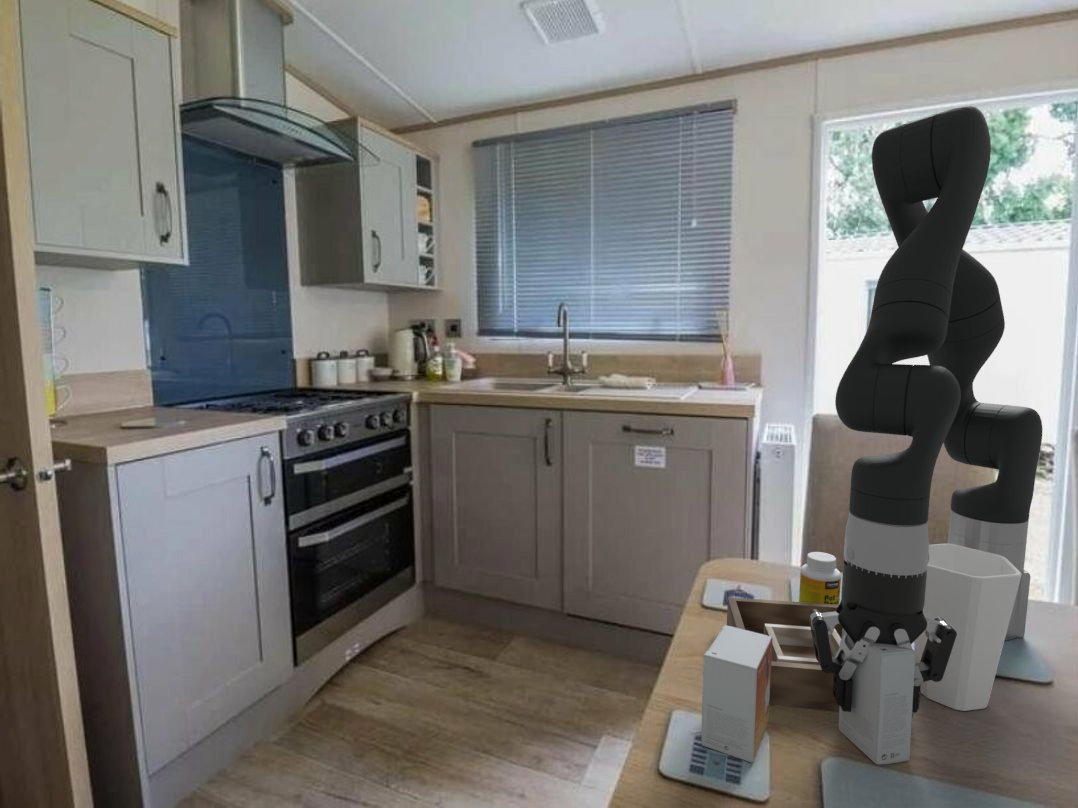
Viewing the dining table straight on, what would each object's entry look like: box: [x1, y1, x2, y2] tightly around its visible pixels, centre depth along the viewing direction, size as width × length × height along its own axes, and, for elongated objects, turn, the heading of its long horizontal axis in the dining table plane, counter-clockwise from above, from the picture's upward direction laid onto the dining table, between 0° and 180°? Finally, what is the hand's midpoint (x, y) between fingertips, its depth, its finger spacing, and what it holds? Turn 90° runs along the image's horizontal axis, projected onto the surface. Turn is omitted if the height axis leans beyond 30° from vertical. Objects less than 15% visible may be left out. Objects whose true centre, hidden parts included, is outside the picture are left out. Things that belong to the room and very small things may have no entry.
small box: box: [700, 624, 773, 764], centre depth 67 cm, size 8×6×10 cm
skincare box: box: [838, 629, 915, 766], centre depth 65 cm, size 6×4×12 cm
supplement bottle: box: [798, 551, 842, 605], centre depth 93 cm, size 6×6×10 cm
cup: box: [913, 543, 1022, 712], centre depth 74 cm, size 11×10×17 cm
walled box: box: [726, 596, 843, 712], centre depth 81 cm, size 18×18×5 cm
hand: (873, 709), depth 66 cm, fingers closed on skincare box, 5 cm apart
